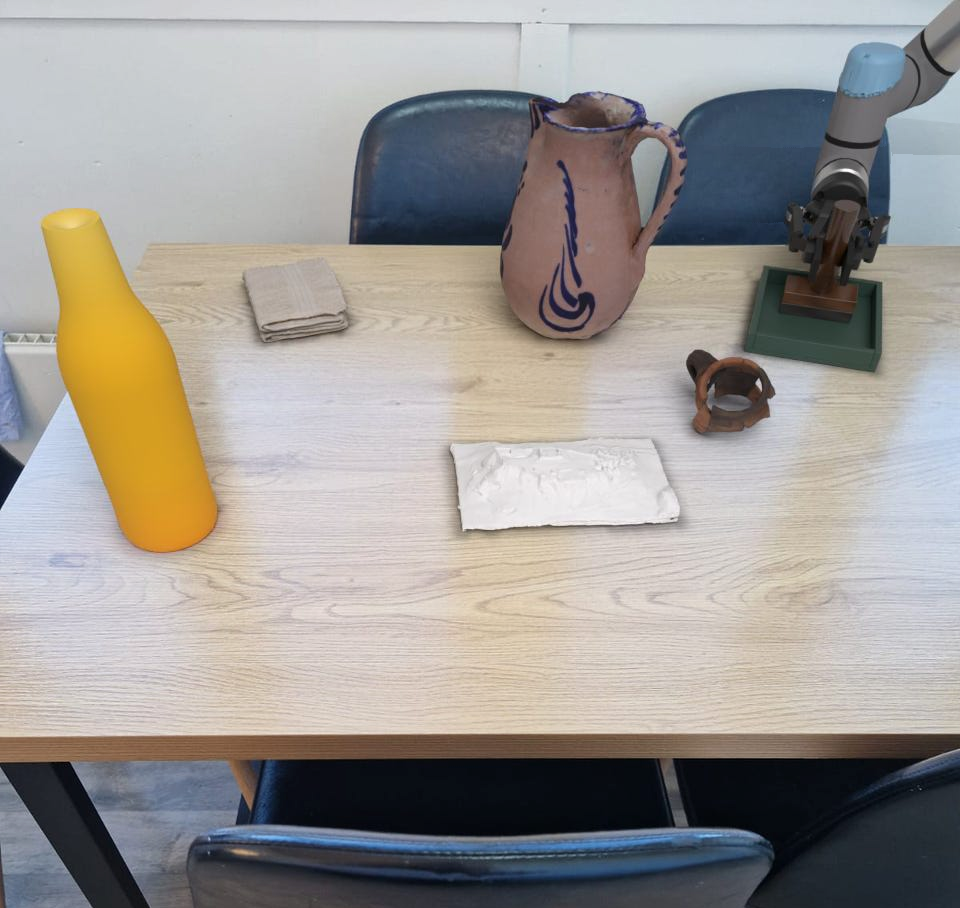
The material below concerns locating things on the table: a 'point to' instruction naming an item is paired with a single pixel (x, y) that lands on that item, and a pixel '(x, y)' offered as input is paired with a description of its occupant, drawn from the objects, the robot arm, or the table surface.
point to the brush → (826, 274)
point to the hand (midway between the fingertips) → (830, 272)
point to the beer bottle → (126, 390)
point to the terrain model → (562, 484)
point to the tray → (817, 326)
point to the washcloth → (295, 299)
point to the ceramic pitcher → (582, 214)
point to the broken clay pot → (728, 391)
